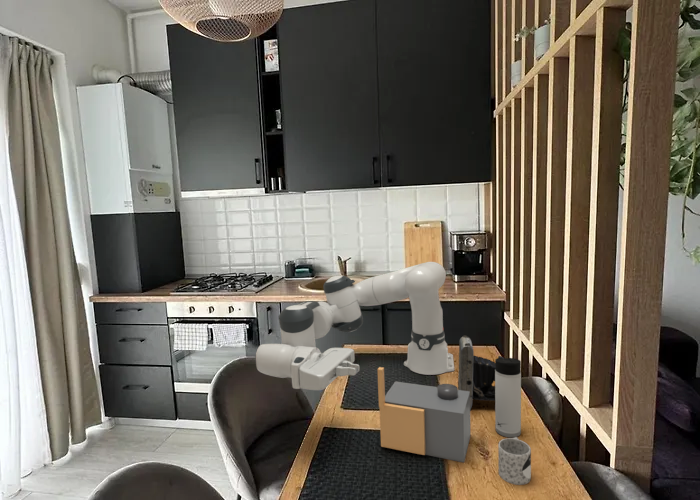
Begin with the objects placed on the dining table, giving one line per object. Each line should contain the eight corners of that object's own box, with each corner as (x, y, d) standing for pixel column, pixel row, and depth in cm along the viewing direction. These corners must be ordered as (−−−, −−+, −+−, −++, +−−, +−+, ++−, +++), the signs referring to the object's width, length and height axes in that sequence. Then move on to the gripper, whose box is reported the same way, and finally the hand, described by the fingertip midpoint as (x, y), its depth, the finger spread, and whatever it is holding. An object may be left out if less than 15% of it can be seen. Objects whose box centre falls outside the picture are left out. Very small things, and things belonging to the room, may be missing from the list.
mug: (530, 488, 86) (530, 458, 85) (497, 480, 89) (496, 451, 88) (531, 461, 95) (531, 433, 94) (501, 454, 98) (501, 428, 97)
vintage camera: (515, 415, 116) (517, 347, 115) (459, 410, 120) (460, 344, 118) (508, 399, 126) (511, 337, 124) (457, 395, 129) (458, 334, 127)
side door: (382, 444, 103) (379, 367, 101) (425, 452, 98) (423, 372, 96) (380, 447, 101) (377, 369, 99) (424, 456, 97) (422, 374, 95)
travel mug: (498, 438, 105) (498, 363, 103) (493, 424, 111) (492, 353, 109) (524, 439, 104) (524, 363, 102) (517, 425, 110) (517, 354, 108)
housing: (396, 422, 114) (395, 374, 113) (470, 435, 106) (469, 384, 105) (382, 446, 103) (380, 393, 102) (464, 463, 95) (463, 405, 94)
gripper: (327, 361, 118) (372, 366, 112) (289, 391, 99) (341, 399, 94) (326, 340, 117) (371, 344, 112) (288, 366, 98) (340, 373, 93)
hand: (357, 370), depth 102 cm, fingers closed
